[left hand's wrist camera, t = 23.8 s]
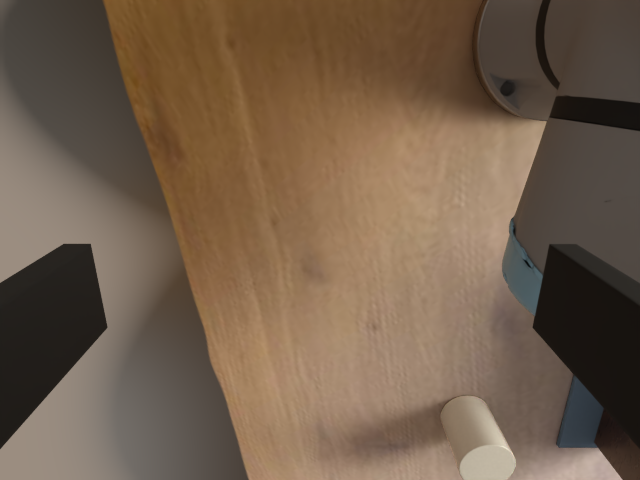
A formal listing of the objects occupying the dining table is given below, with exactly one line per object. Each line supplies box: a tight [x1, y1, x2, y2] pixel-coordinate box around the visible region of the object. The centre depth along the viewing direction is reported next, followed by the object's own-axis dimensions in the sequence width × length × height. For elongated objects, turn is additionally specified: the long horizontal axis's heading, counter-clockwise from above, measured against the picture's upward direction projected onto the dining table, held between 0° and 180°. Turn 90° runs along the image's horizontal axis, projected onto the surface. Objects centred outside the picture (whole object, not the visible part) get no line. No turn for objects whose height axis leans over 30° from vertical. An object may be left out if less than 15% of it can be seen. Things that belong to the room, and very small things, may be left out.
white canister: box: [440, 395, 516, 480], centre depth 51 cm, size 6×6×8 cm
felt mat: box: [557, 375, 604, 448], centre depth 52 cm, size 28×14×1 cm, turn 0°
